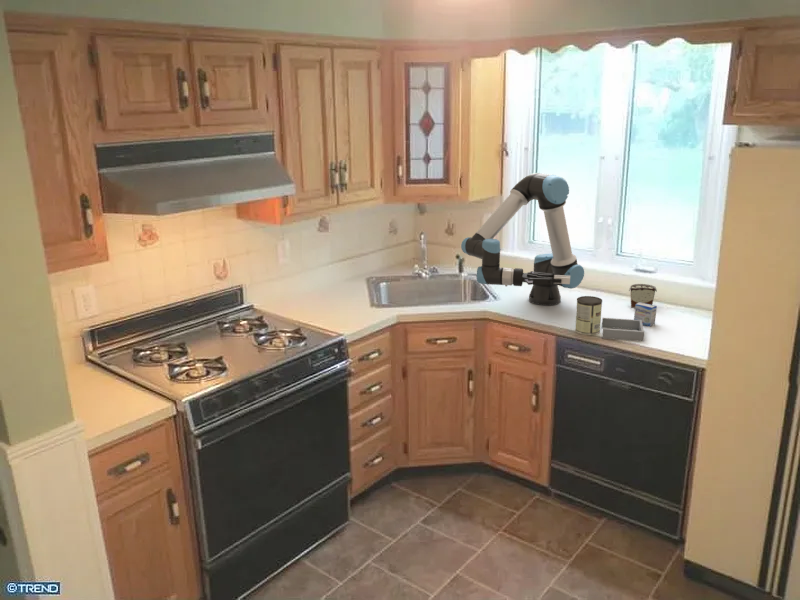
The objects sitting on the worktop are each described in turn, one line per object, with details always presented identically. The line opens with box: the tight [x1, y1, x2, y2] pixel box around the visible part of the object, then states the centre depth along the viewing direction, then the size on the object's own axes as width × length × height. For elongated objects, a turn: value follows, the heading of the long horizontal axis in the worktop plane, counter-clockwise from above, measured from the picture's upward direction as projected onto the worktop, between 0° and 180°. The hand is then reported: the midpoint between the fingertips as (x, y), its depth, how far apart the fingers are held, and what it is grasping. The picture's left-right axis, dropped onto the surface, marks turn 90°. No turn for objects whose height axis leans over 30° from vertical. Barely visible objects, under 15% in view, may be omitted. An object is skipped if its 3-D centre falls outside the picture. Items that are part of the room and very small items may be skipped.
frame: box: [601, 317, 645, 342], centre depth 285 cm, size 16×15×4 cm
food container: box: [628, 283, 658, 309], centre depth 320 cm, size 12×6×10 cm, turn 84°
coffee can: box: [575, 295, 603, 336], centre depth 287 cm, size 10×10×14 cm
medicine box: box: [633, 302, 657, 327], centre depth 296 cm, size 8×4×9 cm, turn 45°
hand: (569, 280), depth 285 cm, fingers open, 2 cm apart
